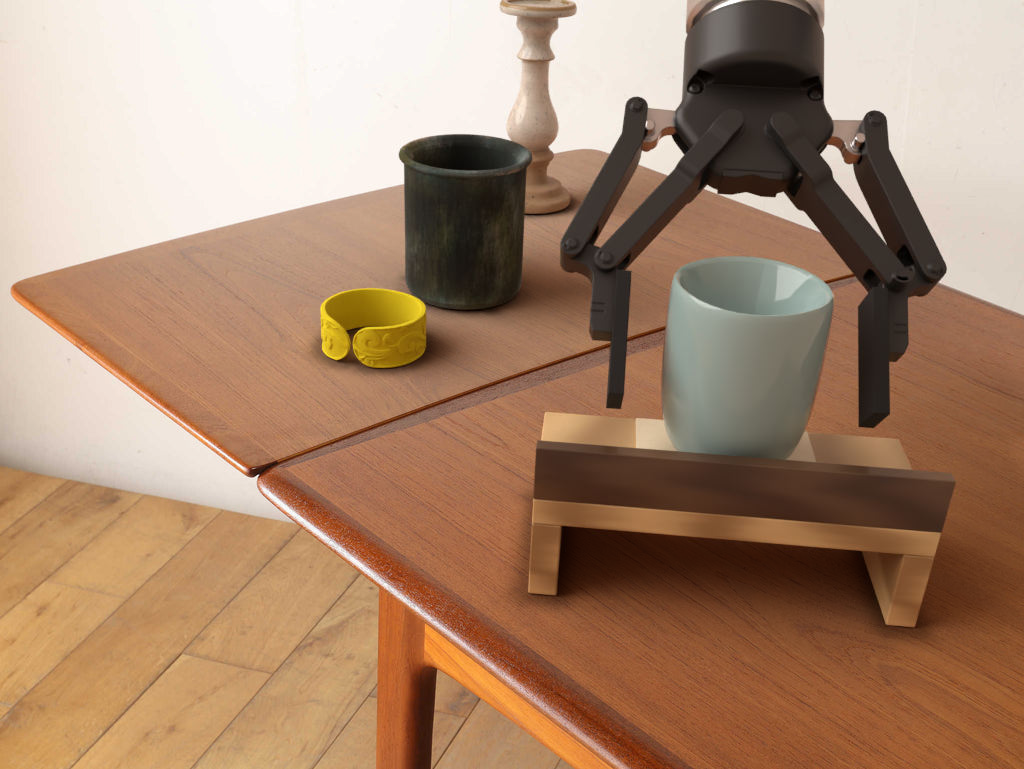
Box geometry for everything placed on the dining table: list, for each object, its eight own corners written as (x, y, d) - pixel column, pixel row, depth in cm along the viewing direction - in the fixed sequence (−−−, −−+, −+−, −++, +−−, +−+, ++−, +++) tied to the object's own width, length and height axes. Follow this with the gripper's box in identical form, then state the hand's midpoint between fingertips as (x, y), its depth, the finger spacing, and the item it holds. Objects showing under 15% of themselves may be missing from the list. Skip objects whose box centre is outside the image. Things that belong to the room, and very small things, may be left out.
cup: (627, 434, 58) (644, 265, 53) (745, 410, 61) (771, 248, 56) (703, 510, 52) (730, 327, 47) (831, 480, 55) (868, 304, 50)
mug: (398, 314, 86) (395, 170, 80) (403, 250, 98) (402, 122, 93) (531, 315, 86) (538, 173, 81) (519, 251, 99) (524, 124, 94)
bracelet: (348, 319, 85) (347, 281, 83) (441, 336, 83) (441, 297, 81) (304, 356, 78) (302, 315, 77) (403, 375, 76) (403, 334, 75)
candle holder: (540, 184, 118) (550, -7, 108) (586, 207, 111) (601, 6, 102) (472, 195, 113) (476, -3, 104) (516, 220, 107) (525, 10, 97)
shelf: (877, 525, 62) (910, 391, 58) (915, 628, 54) (956, 481, 50) (539, 497, 63) (547, 364, 59) (527, 593, 55) (535, 448, 51)
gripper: (953, 86, 61) (965, 447, 55) (536, 63, 63) (503, 412, 56) (1005, 3, 54) (1027, 409, 48) (534, -20, 55) (495, 369, 49)
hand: (743, 411), depth 52 cm, fingers open, 12 cm apart
